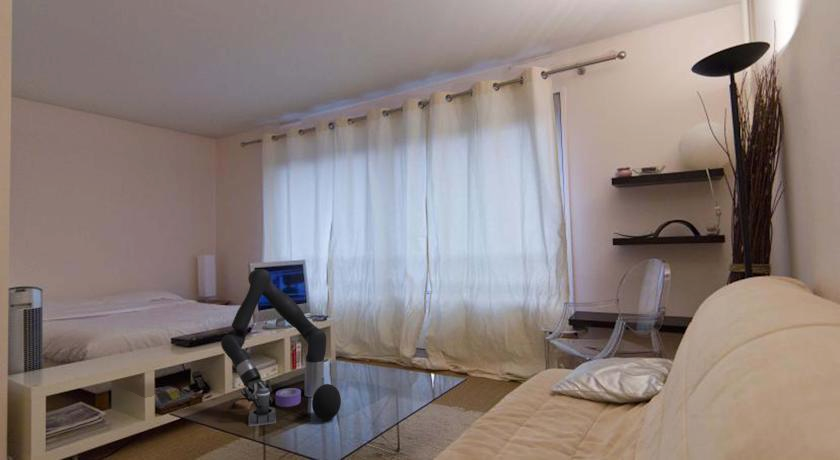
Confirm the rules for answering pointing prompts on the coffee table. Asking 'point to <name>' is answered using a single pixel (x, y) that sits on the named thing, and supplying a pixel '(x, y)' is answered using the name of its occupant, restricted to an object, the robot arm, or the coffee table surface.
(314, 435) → the coffee table surface
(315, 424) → the coffee table surface
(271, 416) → the mount
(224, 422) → the coffee table surface
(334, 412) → the decorative egg
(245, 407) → the sunglasses case
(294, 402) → the tape roll
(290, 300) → the robot arm
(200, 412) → the coffee table surface
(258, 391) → the lens
